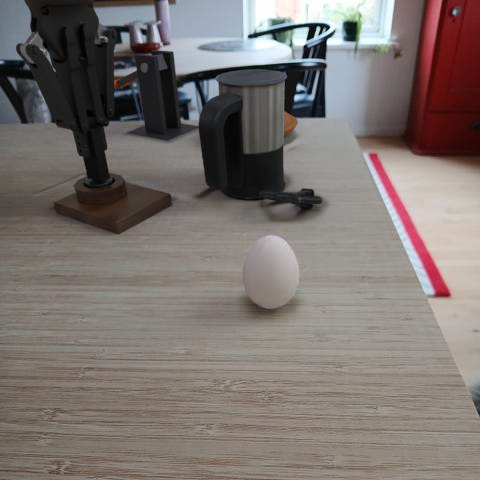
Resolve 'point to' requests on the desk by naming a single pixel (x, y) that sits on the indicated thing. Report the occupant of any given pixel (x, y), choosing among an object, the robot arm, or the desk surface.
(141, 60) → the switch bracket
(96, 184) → the stop button
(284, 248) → the egg
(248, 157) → the milk frother
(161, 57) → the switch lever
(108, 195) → the brown button base
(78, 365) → the desk surface
